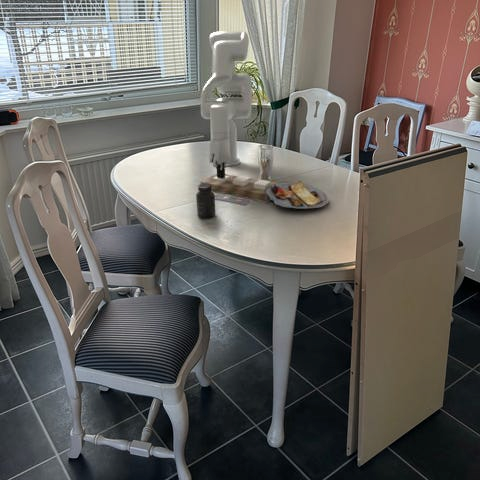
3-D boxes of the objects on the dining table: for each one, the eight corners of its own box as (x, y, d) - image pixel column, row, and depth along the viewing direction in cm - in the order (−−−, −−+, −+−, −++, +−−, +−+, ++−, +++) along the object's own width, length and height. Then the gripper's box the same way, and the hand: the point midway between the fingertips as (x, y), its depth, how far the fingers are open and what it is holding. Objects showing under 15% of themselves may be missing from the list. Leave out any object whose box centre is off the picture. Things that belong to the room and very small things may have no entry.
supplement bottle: (206, 210, 179) (204, 180, 174) (219, 215, 175) (218, 184, 170) (193, 216, 175) (191, 185, 169) (206, 220, 171) (205, 190, 165)
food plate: (257, 188, 193) (258, 180, 191) (308, 184, 200) (309, 177, 199) (281, 216, 173) (282, 207, 171) (336, 211, 180) (338, 203, 179)
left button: (213, 184, 202) (212, 178, 201) (219, 181, 206) (219, 174, 205) (223, 186, 200) (223, 179, 199) (229, 183, 204) (229, 176, 203)
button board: (200, 188, 201) (200, 181, 199) (218, 179, 212) (218, 172, 210) (267, 201, 187) (267, 194, 185) (282, 190, 197) (282, 184, 196)
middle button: (232, 186, 197) (232, 179, 196) (239, 182, 201) (238, 175, 200) (243, 188, 195) (243, 181, 194) (249, 184, 199) (249, 177, 198)
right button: (253, 190, 193) (253, 183, 192) (259, 186, 197) (259, 179, 196) (264, 192, 191) (265, 185, 189) (270, 188, 195) (270, 181, 193)
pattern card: (202, 196, 192) (202, 195, 192) (209, 192, 196) (209, 191, 196) (245, 205, 183) (245, 204, 183) (251, 201, 187) (251, 199, 187)
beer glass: (272, 182, 207) (272, 149, 200) (256, 181, 208) (257, 148, 202) (274, 177, 213) (275, 144, 207) (259, 176, 215) (259, 144, 208)
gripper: (221, 130, 201) (222, 171, 209) (202, 138, 189) (204, 181, 197) (236, 132, 198) (237, 174, 206) (217, 140, 186) (219, 184, 194)
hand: (221, 177), depth 202 cm, fingers closed
